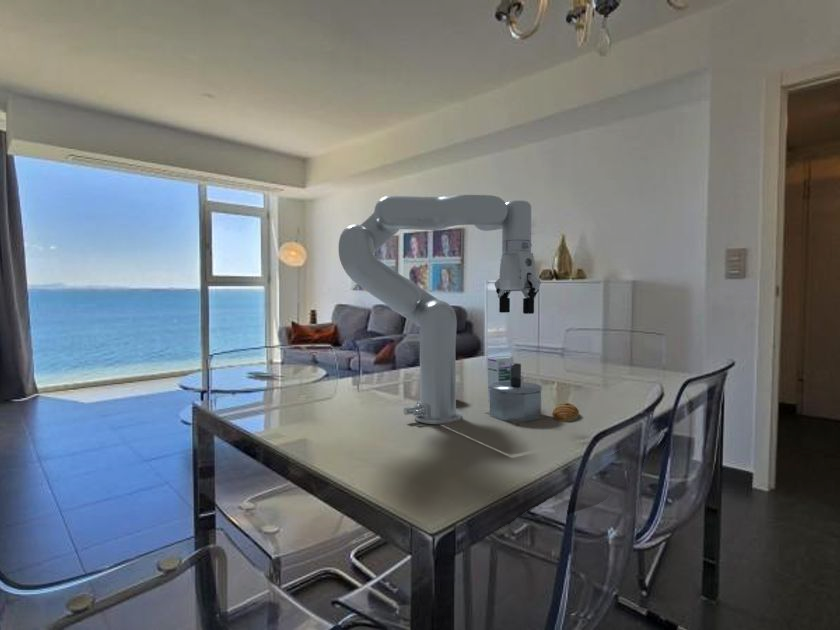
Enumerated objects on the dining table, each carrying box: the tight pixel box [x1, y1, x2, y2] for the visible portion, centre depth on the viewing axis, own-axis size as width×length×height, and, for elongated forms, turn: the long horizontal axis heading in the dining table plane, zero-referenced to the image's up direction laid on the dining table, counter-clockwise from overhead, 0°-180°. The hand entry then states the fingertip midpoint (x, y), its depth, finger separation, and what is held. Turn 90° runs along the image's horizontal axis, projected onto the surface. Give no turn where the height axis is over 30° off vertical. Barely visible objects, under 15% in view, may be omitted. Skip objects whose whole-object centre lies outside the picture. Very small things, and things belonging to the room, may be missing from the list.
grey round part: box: [489, 362, 543, 423], centre depth 128 cm, size 14×14×14 cm
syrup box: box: [486, 355, 514, 403], centre depth 143 cm, size 6×6×14 cm
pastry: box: [551, 402, 580, 423], centre depth 125 cm, size 9×7×4 cm
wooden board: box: [485, 411, 548, 424], centre depth 128 cm, size 12×12×1 cm
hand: (516, 313), depth 127 cm, fingers open, 9 cm apart
